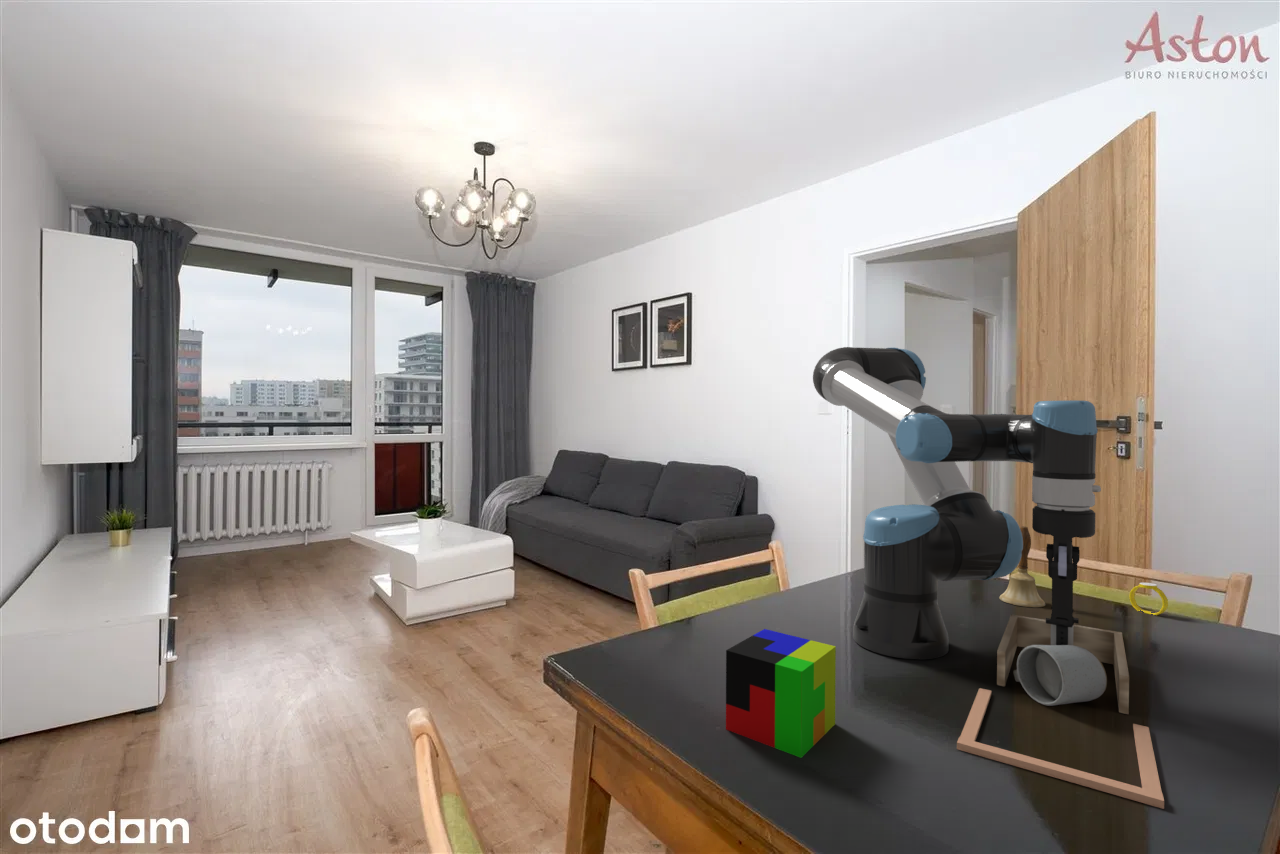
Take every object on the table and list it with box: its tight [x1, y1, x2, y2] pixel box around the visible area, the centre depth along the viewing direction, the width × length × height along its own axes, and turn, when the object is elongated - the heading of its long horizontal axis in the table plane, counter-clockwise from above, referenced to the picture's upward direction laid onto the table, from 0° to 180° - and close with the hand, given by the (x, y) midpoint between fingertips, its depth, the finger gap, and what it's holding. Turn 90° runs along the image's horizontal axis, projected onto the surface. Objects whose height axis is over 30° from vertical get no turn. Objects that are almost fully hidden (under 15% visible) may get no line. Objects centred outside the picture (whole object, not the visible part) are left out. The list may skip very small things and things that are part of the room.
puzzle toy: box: [725, 628, 837, 759], centre depth 77 cm, size 10×10×10 cm
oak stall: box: [996, 614, 1130, 715], centre depth 93 cm, size 15×20×5 cm
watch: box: [1128, 582, 1169, 616], centre depth 122 cm, size 6×3×6 cm, turn 26°
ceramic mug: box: [1013, 645, 1108, 707], centre depth 86 cm, size 11×8×8 cm
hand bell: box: [998, 525, 1046, 608], centre depth 129 cm, size 8×8×16 cm
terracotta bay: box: [956, 687, 1165, 810], centre depth 74 cm, size 18×19×1 cm
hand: (1061, 668), depth 89 cm, fingers closed
